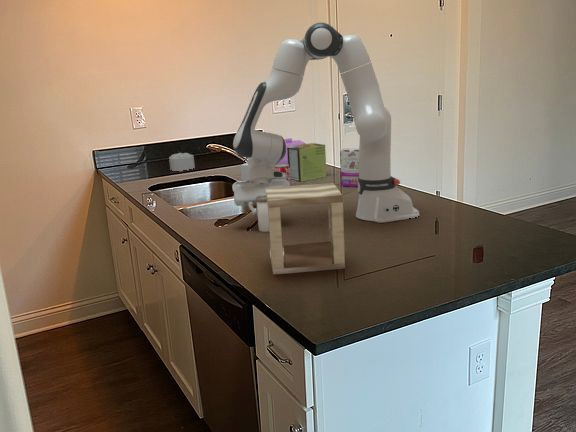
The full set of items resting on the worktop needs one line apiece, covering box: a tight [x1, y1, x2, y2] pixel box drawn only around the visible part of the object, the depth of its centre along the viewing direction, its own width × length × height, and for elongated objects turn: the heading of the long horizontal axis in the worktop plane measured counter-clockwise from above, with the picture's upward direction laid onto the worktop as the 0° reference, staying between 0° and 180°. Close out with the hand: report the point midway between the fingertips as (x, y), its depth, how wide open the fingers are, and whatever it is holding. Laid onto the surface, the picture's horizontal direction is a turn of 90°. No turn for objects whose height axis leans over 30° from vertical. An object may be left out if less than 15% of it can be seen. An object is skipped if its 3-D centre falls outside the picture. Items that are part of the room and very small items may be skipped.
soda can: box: [273, 164, 292, 186], centre depth 248 cm, size 7×7×13 cm
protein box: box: [287, 142, 327, 183], centre depth 278 cm, size 10×15×16 cm
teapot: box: [275, 138, 307, 165], centre depth 315 cm, size 15×25×14 cm, turn 14°
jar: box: [256, 195, 269, 233], centre depth 201 cm, size 5×5×12 cm
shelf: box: [265, 182, 346, 275], centre depth 167 cm, size 17×20×21 cm
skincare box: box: [240, 162, 249, 181], centre depth 260 cm, size 6×4×12 cm
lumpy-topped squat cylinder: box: [168, 152, 196, 172], centre depth 319 cm, size 10×13×9 cm
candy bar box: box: [339, 148, 359, 188], centre depth 256 cm, size 11×5×16 cm, turn 68°
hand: (264, 213), depth 201 cm, fingers open, 5 cm apart
